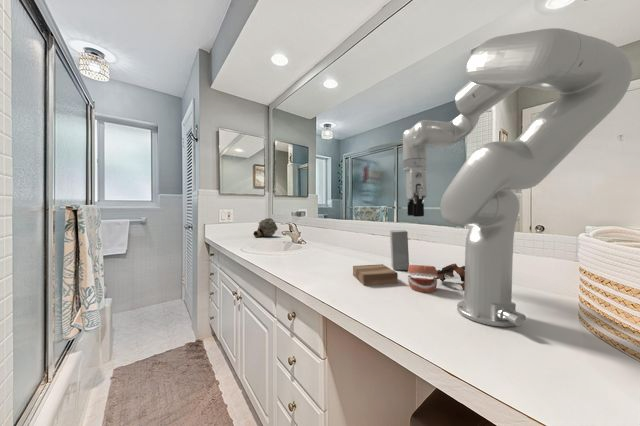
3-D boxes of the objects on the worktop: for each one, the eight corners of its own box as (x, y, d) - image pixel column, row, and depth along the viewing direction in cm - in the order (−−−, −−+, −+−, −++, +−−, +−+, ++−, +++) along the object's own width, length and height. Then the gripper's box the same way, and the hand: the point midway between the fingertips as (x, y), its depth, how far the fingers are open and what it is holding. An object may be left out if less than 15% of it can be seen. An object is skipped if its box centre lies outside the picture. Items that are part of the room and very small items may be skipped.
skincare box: (409, 271, 99) (410, 231, 99) (391, 270, 101) (391, 231, 100) (406, 265, 108) (406, 229, 107) (389, 265, 109) (389, 229, 108)
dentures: (408, 292, 77) (408, 266, 76) (407, 284, 83) (407, 261, 83) (439, 295, 74) (440, 268, 74) (436, 287, 81) (436, 262, 80)
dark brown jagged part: (460, 295, 75) (445, 269, 78) (439, 298, 84) (426, 275, 86) (485, 279, 80) (471, 256, 82) (463, 284, 88) (450, 262, 90)
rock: (274, 215, 206) (259, 212, 194) (280, 228, 199) (266, 227, 187) (262, 229, 213) (247, 227, 202) (268, 242, 206) (253, 241, 194)
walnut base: (397, 284, 85) (397, 272, 85) (363, 286, 83) (363, 275, 83) (382, 274, 97) (382, 264, 96) (353, 276, 95) (352, 265, 94)
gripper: (433, 160, 76) (434, 216, 76) (420, 169, 93) (420, 215, 93) (407, 161, 77) (408, 217, 77) (399, 170, 94) (399, 215, 94)
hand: (415, 215), depth 85 cm, fingers open, 9 cm apart
